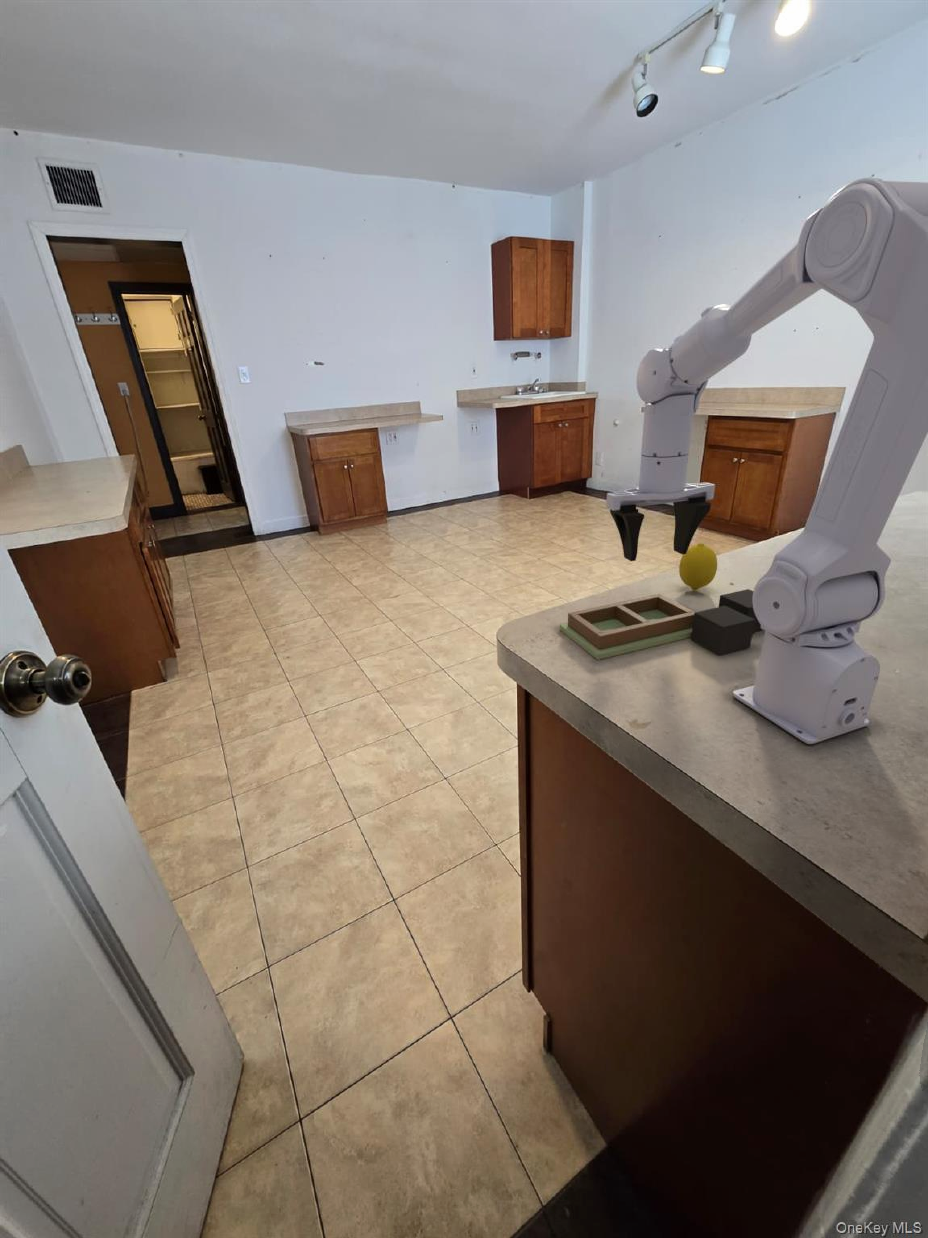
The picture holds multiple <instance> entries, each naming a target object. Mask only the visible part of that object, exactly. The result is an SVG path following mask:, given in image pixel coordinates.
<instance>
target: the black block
mask: <svg viewBox="0 0 928 1238" xmlns="http://www.w3.org/2000/svg"><path fill="white" fill-rule="evenodd" d="M753 591H754V590H752V589H749V588H747V589H743V590H738V591H733V592H729V593H724V594H721V595H719V600H718V607H721V606H727V607H729V608H731V609H733V610H735V611H738V612H740V613H742V614H744V615H746V616H748V617H751V618H753V619H755V623H754V629H753V633H757V632H760V631H764V630H763V629H762V628H760V627H761V624H760V623H759V621H758V619H757V617H756V615H755V613H754V609H753V603H752V598H753Z"/></svg>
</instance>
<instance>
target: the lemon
mask: <svg viewBox="0 0 928 1238" xmlns="http://www.w3.org/2000/svg"><path fill="white" fill-rule="evenodd" d="M717 570H718V557H717V554H716V552H715V551H714V550H713V549H712V548H711V547H710V546H709V545H708V546H707V545H706V544H704V542H698V543H697V544H693V545H692V546H689V548H688V550H687V553H686V554H682V556H681V558H680V561H679V567H678V573H679V577H680V579H681V581H682V582H683V583H684V585H686V586H687V587H690V588H691V589H692V590H693V591H698V590H699V589H701V588H704V587H706V586H708V585H710V584H711V583H712V581H713V580H714V579H715V577H716V574H717Z"/></svg>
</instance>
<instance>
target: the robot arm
mask: <svg viewBox="0 0 928 1238" xmlns="http://www.w3.org/2000/svg"><path fill="white" fill-rule="evenodd" d="M821 290H823V291H826V292H827V293H828V294H830V295H832V296H834V297H835V298H837V299H839V300H841V301H842V302H844V303H845V304H846V305H848V306H850V307H851V308H853V309H855V310H856V312H857V313H858V314H859V316H860V317H861V319H862V320H863V321H864V323H865V325H866V326H867V327H868V329H869V330H870V332H871V334H872V335H873V340H872V343H871V347H870V349H869V352H868V355H867V358H866V360H865V363H864V365H863V368H862V371H861V373H860V376H859V379H858V382H857V384H856V387H855V390H854V393H853V395H852V398H851V401H850V402H849V405H848V409H847V412H846V414H845V417H844V418H843V419H844V420H843V422H842V425H841V428H840V430H839V433H838V436H837V438H836V441H835V444H834V446H833V450H832V452H831V455H830V457H829V460H828V462H827V466H826V468H825V471H824V474H823V476H822V479H821V482H820V484H819V488H818V490H817V493H816V495H815V499H814V501H813V504H812V506H811V509H810V511H809V513H808V514H809V515H808V517H807V520H806V523H805V525H804V528H803V530H802V531H801V533H799V534H798V535H797V536H796V537H795V538H793V540H791V541H790V542H789V543H787V544H786V545H785V546H784V547H783V548H781V549H780V550H779V551H778V552H776V554H775V555H774V557H773V559H772V561H771V562H772V563H771V566H770V567H769V569H768V570H767V571H766V573H765V574H764V575H763V576H762V577H760V578H759V579H758V581H757V582H756V584H755V586H754V589H753V590H752V591H753V598H752V603H753V609H754V613H755V615H756V617H757V619H758V621H759V623H760V624H761V627H760V628H762V629H763V630H762V631H764V635H763V639H762V644H761V650H760V654H759V658H758V659H759V660H758V664H757V669H756V674H755V679H754V684H753V685H750V686H746V687H743V688H739V689H736V690H734V691H732V697H734V698H735V699H737V701H740V702H741V703H743V704H744V705H746V706H747V707H749V708H751V709H752V710H753V711H755V712H757V713H758V714H760V715H761V716H763V717H765V718H766V719H768V720H769V721H770V722H773V723H774V724H776V725H777V726H779V727H780V728H781V729H783V730H785V731H786V732H788V733H789V734H791V735H792V736H794V737H796V738H797V739H799V740H800V741H802V742H803V743H804V744H807V745H814V744H817V743H820V742H823V741H826V740H829V739H831V738H835V737H837V736H840V735H843V734H847V733H850V732H852V731H855V730H858V729H862V728H864V727H867V726H869V724H870V720H869V719H868V718H867V715H868V712H869V708H870V706H871V702H872V699H873V696H874V694H875V693H874V692H875V690H876V687H877V684H878V681H879V677H880V672H881V666H880V662H879V660H878V659H877V658H876V657H875V656H873V655H871V654H869V652H867V651H865V650H864V649H863V648H862V647H861V646H860V645H859V644H858V643H857V642H856V640H855V634H858V633H859V632H860V630H861V629H860V628H861V625H862V622H864V621H866V620H869V619H871V618H872V617H874V616H875V615H876V614H878V612H879V611H880V610H881V608H882V606H883V604H884V601H885V599H886V585H885V583H886V582H885V581H886V574H887V572H888V569H889V567H890V565H891V563H892V558H891V557H890V556H889V555H888V554H887V553H886V552H885V551H884V550H883V549H882V548H881V547H880V546H879V544H878V541H879V540H880V537H881V535H882V533H883V531H884V529H885V527H886V524H887V523H888V520H889V518H890V516H891V514H892V511H893V509H894V508H895V505H896V503H897V501H898V498H899V496H900V494H901V492H902V490H903V487H904V485H905V483H906V481H907V479H908V476H909V474H910V472H911V470H912V468H913V466H914V463H915V461H916V459H917V457H918V455H919V452H920V451H921V448H922V446H923V445H924V441H925V440H926V437H927V435H928V182H924V181H922V182H921V181H896V180H895V181H894V180H893V181H892V180H883V179H882V178H875V177H863V178H860V179H855V180H853V181H852V182H851V181H850V182H849V183H847V184H846V185H844V186H843V187H841V188H840V189H839V190H837V191H836V193H834V194H833V195H832V196H831V197H830V198H829V200H828V201H827V202H826V203H825V204H824V206H823V207H821V208H819V209H818V210H817V211H815V212H814V213H812V214H811V215H810V216H808V217H807V218H806V220H805V221H804V223H803V225H802V227H801V231H800V234H799V237H798V241H796V243H794V244H793V246H791V248H789V249H788V250H787V251H786V252H785V253H784V254H783V255H782V256H781V257H780V258H779V259H778V260H777V261H776V262H775V263H774V264H773V265H772V266H771V267H770V268H769V269H768V270H766V272H765V273H764V274H762V276H761V277H760V278H758V280H757V281H756V282H755V283H754V284H752V286H751V287H750V288H749V289H747V290H746V291H745V292H744V293H743V295H741V296H740V298H739V299H737V300H736V301H735V302H734V303H733V304H732V305H729V304H719V305H716V306H708V307H706V308H705V309H704V310H703V311H702V312H701V313H700V317H701V318H700V319H699V320H697V321H696V322H695V323H694V324H693V325H692V326H690V328H688V329H687V330H686V331H685V332H684V333H683V334H681V335H678V336H677V337H675V339H674V340H673V343H672V344H671V345H670V346H668V347H666V348H663V349H661V348H653V349H650V350H648V351H647V353H646V354H645V356H644V357H643V358H642V359H641V360H640V364H639V365H638V369H637V374H636V390H637V394H638V396H639V398H640V400H642V402H644V412H643V424H642V425H643V426H642V439H641V450H640V451H641V453H640V466H639V480H638V486H637V487H634V488H628V489H625V490H621V491H615V492H608V493H606V504H605V506H606V509H608V510H609V513H610V515H611V517H612V519H613V522H614V523H615V526H616V528H617V531H618V533H619V538H620V541H621V547H622V552H623V558H624V559H626V560H627V561H629V562H636V561H637V556H638V551H639V550H638V548H639V537H640V534H641V533H640V532H641V529H642V525H643V522H644V519H645V514H643V513H642V512H639V509H638V508H637V507H644V506H645V507H646V506H653V505H654V506H655V505H662V504H670V503H672V504H673V511H674V533H673V534H674V535H673V551H674V552H676V553H678V554H680V555H683V554H686V553H687V550H688V548H690V545H691V543H692V540H693V538H694V536H695V534H696V532H697V529H698V528H699V526H700V525H701V523H702V521H703V520H704V518H705V517H706V516H707V515H708V513H710V511H711V507H712V503H711V502H710V501H709V500H713V499H714V497H715V488H716V484H715V483H710V482H693V483H691V482H690V483H686V479H687V472H688V463H689V453H690V444H691V435H692V428H693V416H694V415H695V414H696V413H697V410H699V405H700V399H701V396H702V394H703V393H704V391H705V390H706V387H707V385H708V382H709V379H711V378H712V377H714V376H715V375H716V374H718V373H720V372H721V371H722V370H723V369H725V368H727V367H728V366H729V365H731V364H732V363H733V362H735V361H736V360H738V359H739V358H740V357H742V356H743V355H744V354H745V353H746V352H747V351H748V349H749V347H750V345H751V341H752V336H753V335H754V334H755V333H757V332H758V331H760V330H761V329H762V328H764V327H766V326H768V324H770V323H772V322H773V321H775V320H776V319H778V318H779V317H781V316H782V315H784V314H785V313H787V312H788V311H790V310H791V309H793V308H795V307H796V306H798V305H799V304H801V303H802V302H804V301H805V300H807V299H808V298H810V297H811V296H813V295H814V294H816V293H817V292H819V291H821Z"/></svg>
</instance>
